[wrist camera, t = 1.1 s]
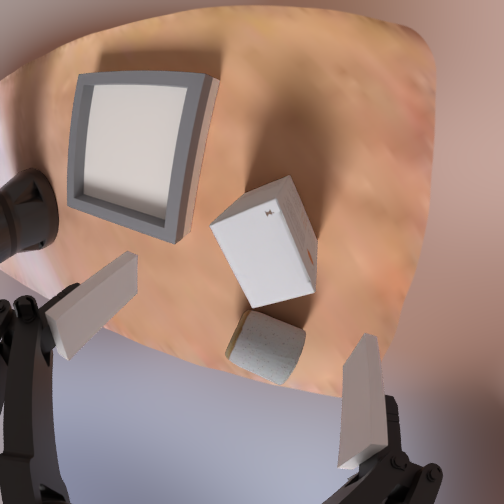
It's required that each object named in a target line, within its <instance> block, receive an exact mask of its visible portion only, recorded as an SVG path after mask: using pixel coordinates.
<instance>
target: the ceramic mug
mask: <svg viewBox="0 0 504 504" xmlns="http://www.w3.org/2000/svg"><path fill="white" fill-rule="evenodd" d="M305 337H306V332H305V331H304V330H303V329H300V328H297V327H295V326H292V325H290V324H288V323H285V322H283V321H280V320H277V319H275V318H272V317H270V316H268V315H266V314H263V313H260V312H257V311H253V310H248V311H246V312H244V314H243V315H242V317H241V319H240V321H239V323H238V325H237V327H236V330H235V332H234V334H233V336H232V338H231V340H230V343H229V345H228V347H227V349H226V352H225V355H226V357H227V359H229V360H230V361H231V362H233V363H234V364H236V365H237V366H239V367H241V368H244V369H246V370H248V371H250V372H252V373H255V374H257V375H259V376H261V377H263V378H265V379H267V380H269V381H271V382H274V383H276V384H278V385H281V384H283V383H284V382H285V381H286V380H287V379H288V378H289V376H290V375H291V373H292V372H293V370H294V368H295V367H296V364H297V362H298V360H299V357H300V355H301V353H302V350H303V346H304V342H305Z"/></svg>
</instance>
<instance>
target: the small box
mask: <svg viewBox="0 0 504 504" xmlns="http://www.w3.org/2000/svg"><path fill="white" fill-rule="evenodd" d="M210 228H211V230H212V232H213V234H214V236H215V238H216V240H217V242H218V244H219V246H220V248H221V250H222V252H223V254H224V256H225V257H226V259H227V261H228V263H229V265H230V267H231V269H232V271H233V273H234V275H235V277H236V278H237V280H238V282H239V284H240V286H241V288H242V290H243V292H244V294H245V295H246V297H247V299H248V301H249V303H250V305H251V307H252V308H256V307H260V306H264V305H268V304H272V303H276V302H280V301H284V300H288V299H292V298H296V297H300V296H304V295H308V294H311V293H314V292H315V291H316V273H317V244H318V241H317V238H316V236H315V233H314V231H313V228H312V226H311V223H310V221H309V218H308V216H307V214H306V211H305V209H304V206H303V204H302V202H301V199H300V197H299V194H298V192H297V190H296V187H295V185H294V183H293V180H292V178H291V176H290V175H288V176H286V177H284V178H281V179H278V180H276V181H273V182H271V183H268V184H266V185H263V186H261V187H259V188H256V189H254V190H251V191H249V192H246V193H244V194H243V195H242V196H241V197H239V198H238V199H237V200H236V201H235V202H234V203H233V204H232V205H231V206H229V207H228V208H227V209H226V210H225V211H224V212H223V213H222V214H221V215H219V216H218V217H217V218H216V219H215V220H214V221H213V222H212V223H211V224H210Z"/></svg>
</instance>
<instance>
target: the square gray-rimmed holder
mask: <svg viewBox="0 0 504 504" xmlns="http://www.w3.org/2000/svg"><path fill="white" fill-rule="evenodd" d="M219 83H220V80H218V79H216V78H214V77H212V76H209V75H207V74H203V73H191V72H176V71H111V72H97V73H86V74H79V76H78V81H77V86H76V91H75V97H74V103H73V110H72V118H71V127H70V137H69V149H68V168H67V206H69V207H71V208H74V209H77V210H80V211H82V212H85V213H88V214H90V215H93V216H96V217H99V218H101V219H104V220H107V221H110V222H113V223H115V224H118V225H121V226H124V227H127V228H129V229H132V230H135V231H138V232H141V233H143V234H146V235H149V236H152V237H155V238H158V239H161V240H163V241H166V242H169V243H172V244H176V243H177V242H179V241H180V240H181V239H182V238H183V237H185V236H186V235H187V234H188V233H190V231H191V224H192V218H193V211H194V205H195V199H196V193H197V187H198V181H199V176H200V170H201V165H202V160H203V155H204V150H205V145H206V140H207V135H208V130H209V126H210V121H211V117H212V112H213V108H214V103H215V99H216V95H217V91H218V87H219Z"/></svg>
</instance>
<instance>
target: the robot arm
mask: <svg viewBox="0 0 504 504" xmlns="http://www.w3.org/2000/svg"><path fill="white" fill-rule="evenodd" d="M57 232H58V211H57V205H56V201H55V197H54V194H53V191H52V188H51V186H50V184H49V182H48V180H47V179H46V177H45V176H44V175H43V174H42V173H41V172H40V171H39V170H37V169H35V168H31V169H27V170H24V171H21V172H20V173H18V174H17V175H16V176H14V177H13V178H12V179H11V180H10V181H8V182H7V183H6V184H5V185H4V186H2V187H1V188H0V263H2V262H3V261H5V260H6V259H8V258H9V257H11V256H13V255H14V254H16V253H20V252H27V251H34V250H41V249H43V248H45V247H47V246H49V245H50V244H52V243H53V242H54V240H55V238H56V236H57ZM137 264H138V255H136V254H134V253H131V252H129V251H126V252H125V253H124V254H122V255H121V256H119V257H118V258H116V259H115V260H114V261H112V262H111V263H109V264H108V265H107V266H105V267H104V268H102V269H101V270H100V271H98V272H97V273H96V274H94V275H93V276H91V277H90V278H89V279H87V280H86V281H85V282H83V283H82V284H79V283H75V284H72V285H69V286H68V287H66V288H65V289H64V290H62V292H60V293H58V294H57V296H55V297H53V298H52V299H51V300H49V301H48V302H47V303H46V304H44V305H43V306H42V307H41V308H39V309H38V306H37V303H36V300H35V298H33V297H32V296H29V295H25V296H21V297H19V298H18V299H16V300H15V301H14V303H13V306H14V309H15V310H13V309H12V308H11V305H10V303H9V301H7V300H5V299H2V300H0V340H1V338H2V340H1V342H0V414H1V411H2V407H3V403H4V422H3V432H4V433H3V435H4V451H3V453H1V454H0V489H1V495H2V501H3V504H71V503H70V500H69V496H68V492H67V488H66V486H65V483H64V482H63V480H62V478H61V475H60V471H59V465H58V459H57V452H56V444H55V434H54V422H53V403H52V369H53V368H52V367H53V350H52V349H53V348H54V347H55V346H56V348H57V351H58V353H59V354H60V355H61V356H63V357H64V358H65V359H67V360H68V361H70V360H71V358H72V357H73V356H74V355H75V354H76V353H77V352H78V351H79V350H80V349H81V348H82V347H83V346H84V345H85V344H86V343H87V342H88V341H89V340H90V339H91V338H92V337H93V336H94V335H95V334H96V333H97V332H98V331H99V330H100V329H101V328H102V327H103V326H104V325H105V324H106V323H107V322H108V321H109V320H110V319H111V318H112V317H113V316H114V315H115V314H116V313H117V312H118V311H119V310H120V309H121V308H122V307H123V306H124V305H126V304H127V303H128V302H129V301H130V300H131V299H132V298H133V297H134V296H135V295H136V294H137ZM357 466H359V472H358V473H357V474H355V475H353V476H351V477H350V478H348V480H349V481H348V482H347V483H346V484H344V485H343V486H342V487H341V488H340V489H339V490H338V491H337V492H335V493H334V494H333V495H332V496H331V497H329V498H328V499H327V500H326V501H325V502H323V503H322V504H434V502H435V499H436V496H437V494H438V491H439V488H440V485H441V482H442V478H443V473H442V470H441V468H440V467H439V466H438V465H437V464H434V463H430V464H428V465H426V466H424V467H422V466H419V465H417V464H414V463H411V462H410V461H409V458H408V456H407V455H406V453H405V452H403V451H402V449H401V435H400V424H399V416H398V405H397V403H396V401H395V399H394V397H393V396H388V395H385V394H384V385H383V376H382V368H381V361H380V354H379V347H378V341H377V336H374V335H370V334H367V333H364V335H363V336H362V338H361V339H360V341H359V343H358V344H357V346H356V347H355V349H354V350H353V352H352V353H351V355H350V356H349V358H348V359H347V361H346V362H345V364H344V365H343V392H342V418H341V433H340V446H339V456H338V466H337V468H342V469H354V468H356V467H357Z"/></svg>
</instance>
